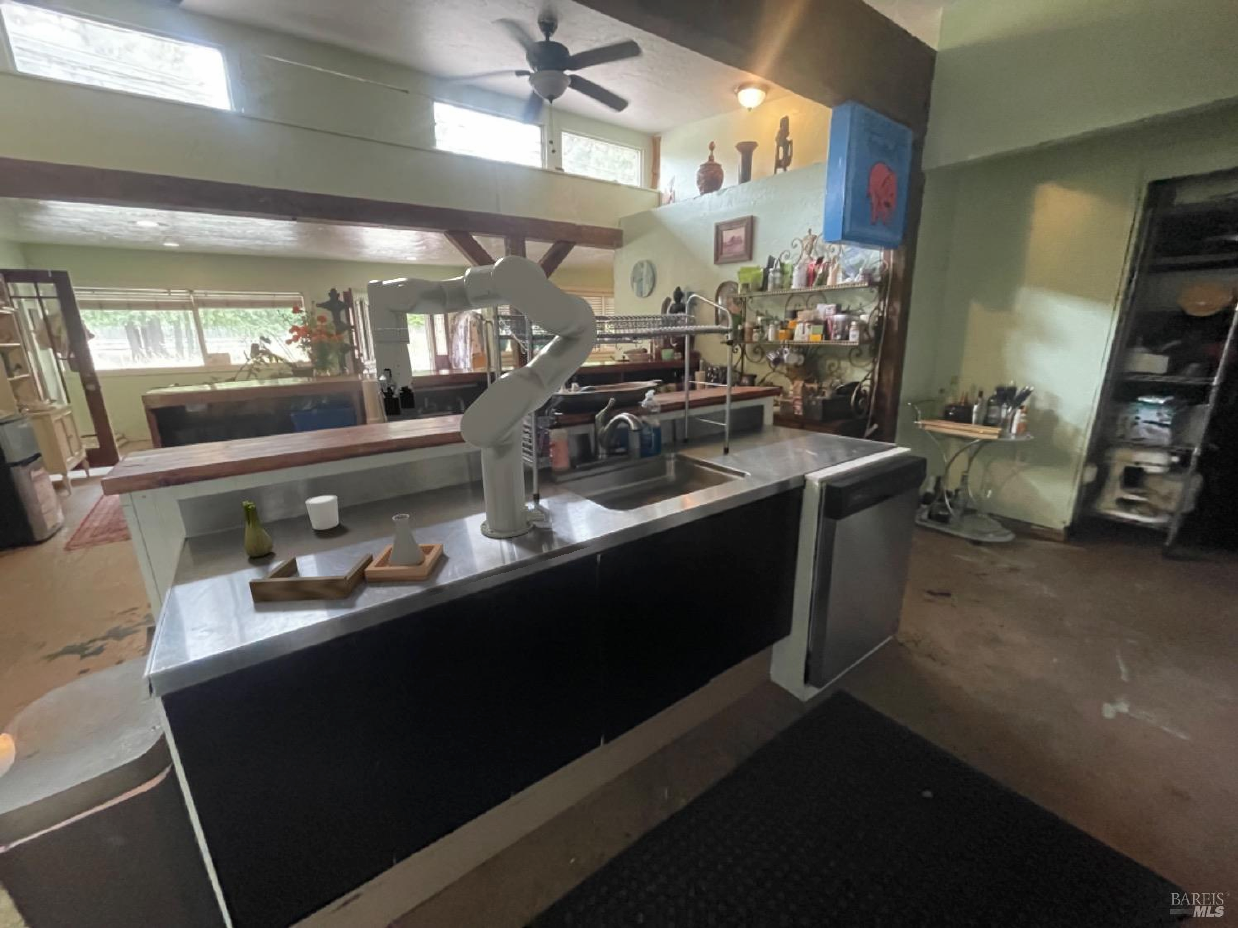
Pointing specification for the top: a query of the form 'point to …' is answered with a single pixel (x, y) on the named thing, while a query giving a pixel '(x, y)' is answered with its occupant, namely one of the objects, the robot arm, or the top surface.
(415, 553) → the flask
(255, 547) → the fennel bulb
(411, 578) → the tray
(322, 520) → the white tapered cylinder
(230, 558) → the top surface
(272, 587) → the bay
